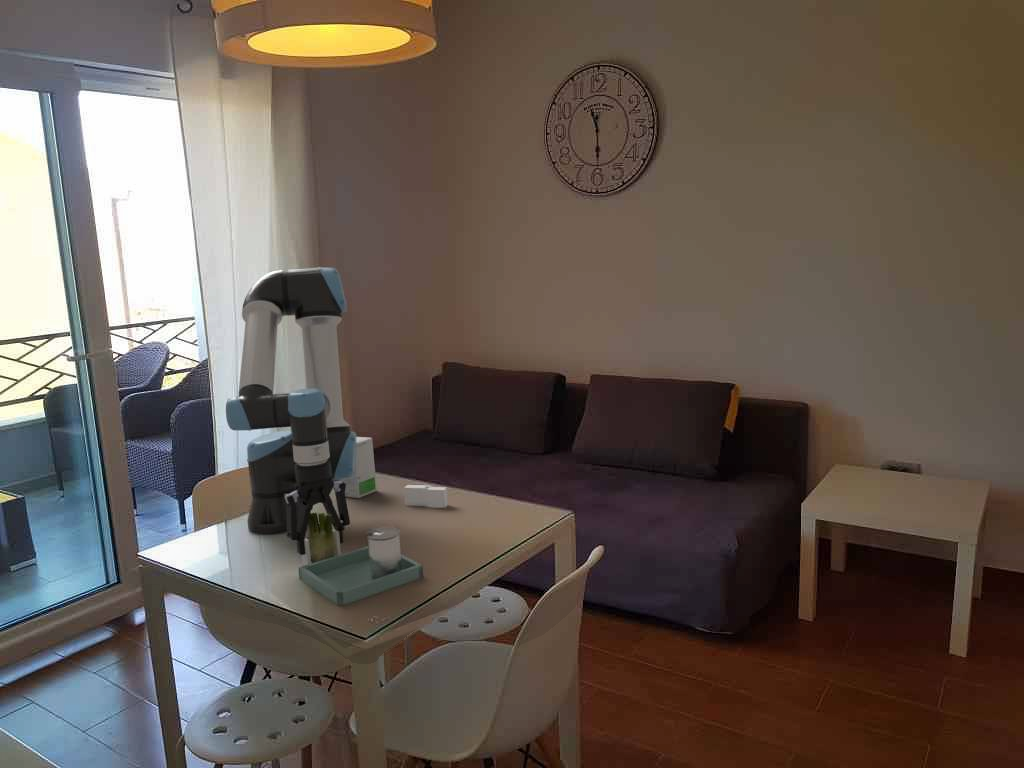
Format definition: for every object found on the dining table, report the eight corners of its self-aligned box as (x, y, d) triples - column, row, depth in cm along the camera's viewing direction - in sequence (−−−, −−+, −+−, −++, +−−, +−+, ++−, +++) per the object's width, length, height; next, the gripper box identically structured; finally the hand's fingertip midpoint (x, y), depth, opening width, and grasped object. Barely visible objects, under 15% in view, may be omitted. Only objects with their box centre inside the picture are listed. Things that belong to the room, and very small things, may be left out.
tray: (300, 583, 170) (298, 567, 170) (380, 557, 182) (378, 542, 181) (339, 611, 157) (338, 593, 156) (423, 581, 168) (422, 565, 167)
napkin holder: (394, 506, 219) (392, 485, 218) (430, 496, 226) (429, 476, 225) (423, 519, 207) (422, 497, 206) (460, 508, 214) (459, 487, 213)
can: (364, 579, 168) (360, 532, 167) (392, 570, 172) (388, 524, 171) (380, 588, 163) (376, 540, 161) (409, 579, 167) (405, 531, 165)
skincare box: (358, 499, 225) (353, 444, 223) (340, 496, 229) (335, 442, 226) (378, 490, 232) (373, 437, 230) (360, 487, 236) (355, 435, 233)
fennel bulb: (339, 564, 180) (334, 512, 178) (320, 571, 176) (314, 518, 174) (324, 558, 184) (319, 507, 182) (305, 565, 180) (300, 513, 178)
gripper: (276, 474, 167) (287, 580, 171) (361, 455, 179) (369, 555, 183) (261, 467, 173) (273, 570, 177) (345, 449, 185) (354, 546, 189)
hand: (322, 562), depth 180 cm, fingers open, 6 cm apart
